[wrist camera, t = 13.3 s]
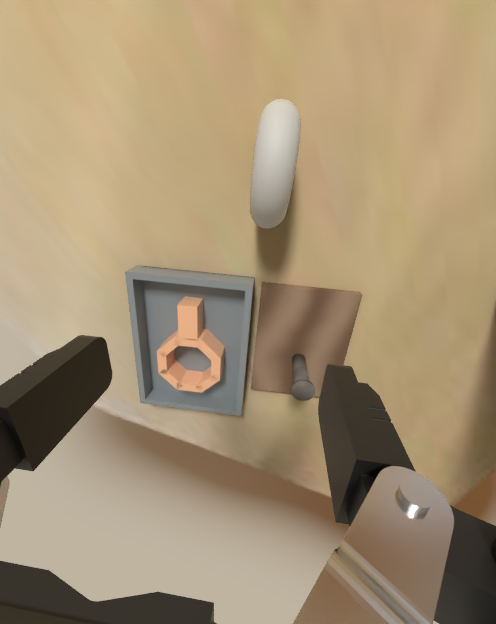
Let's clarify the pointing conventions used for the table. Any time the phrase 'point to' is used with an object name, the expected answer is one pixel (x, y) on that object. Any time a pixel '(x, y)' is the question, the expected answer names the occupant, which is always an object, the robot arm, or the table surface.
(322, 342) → the panel
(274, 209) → the donut
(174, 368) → the ring
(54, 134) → the table surface
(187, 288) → the tray
